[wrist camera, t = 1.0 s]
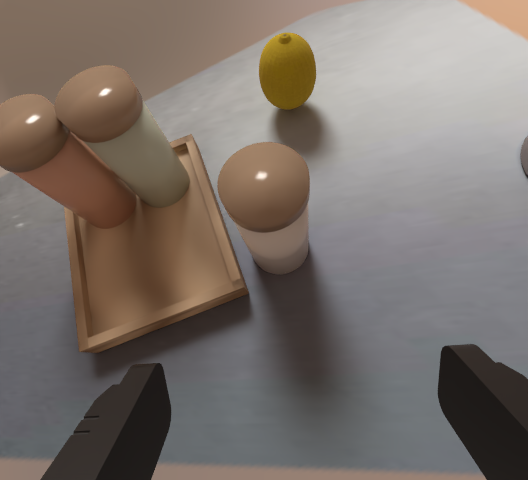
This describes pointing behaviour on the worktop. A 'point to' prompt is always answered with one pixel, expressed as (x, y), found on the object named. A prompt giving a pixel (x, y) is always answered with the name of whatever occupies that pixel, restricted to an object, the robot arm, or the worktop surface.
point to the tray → (152, 263)
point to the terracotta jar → (60, 163)
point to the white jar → (269, 203)
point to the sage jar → (122, 133)
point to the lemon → (287, 71)
